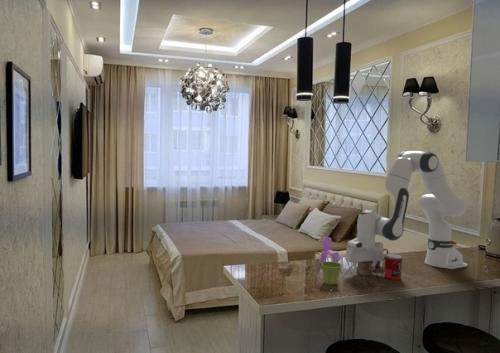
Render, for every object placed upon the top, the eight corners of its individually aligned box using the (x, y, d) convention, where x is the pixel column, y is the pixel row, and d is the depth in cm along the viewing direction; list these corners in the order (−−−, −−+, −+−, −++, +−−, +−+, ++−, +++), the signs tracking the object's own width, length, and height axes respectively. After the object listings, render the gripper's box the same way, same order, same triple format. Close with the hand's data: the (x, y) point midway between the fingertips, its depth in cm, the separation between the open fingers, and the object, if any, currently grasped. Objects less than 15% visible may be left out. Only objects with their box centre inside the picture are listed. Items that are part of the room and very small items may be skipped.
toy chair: (330, 268, 204) (331, 239, 203) (317, 264, 211) (318, 236, 210) (340, 265, 210) (341, 238, 209) (327, 262, 216) (328, 235, 215)
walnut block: (365, 272, 199) (366, 260, 199) (371, 274, 194) (372, 263, 194) (357, 272, 198) (357, 261, 197) (362, 275, 193) (363, 263, 193)
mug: (366, 267, 207) (367, 248, 207) (363, 263, 216) (364, 244, 215) (389, 268, 206) (390, 249, 206) (385, 264, 215) (386, 245, 214)
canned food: (393, 281, 185) (394, 258, 185) (380, 276, 192) (381, 254, 192) (404, 279, 189) (405, 256, 188) (391, 274, 196) (392, 253, 195)
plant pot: (337, 287, 174) (337, 268, 173) (317, 283, 179) (317, 264, 178) (343, 282, 182) (344, 263, 181) (324, 278, 187) (325, 260, 186)
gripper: (379, 240, 201) (378, 266, 202) (344, 242, 195) (343, 269, 196) (387, 243, 195) (385, 270, 196) (351, 244, 189) (350, 272, 190)
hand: (364, 269), depth 196 cm, fingers open, 8 cm apart
